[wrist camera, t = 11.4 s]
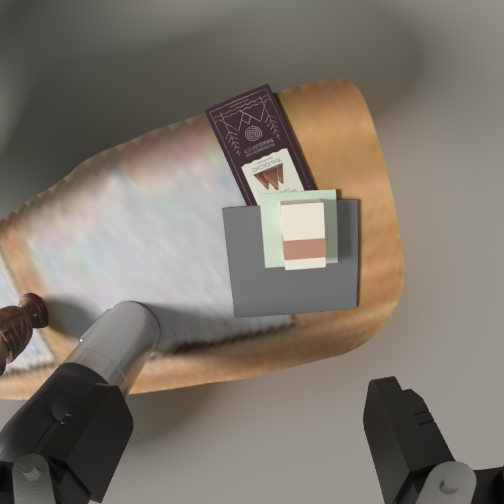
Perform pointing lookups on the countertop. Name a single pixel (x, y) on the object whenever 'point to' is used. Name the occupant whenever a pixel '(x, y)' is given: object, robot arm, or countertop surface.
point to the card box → (303, 234)
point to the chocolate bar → (258, 145)
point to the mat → (272, 258)
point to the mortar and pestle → (19, 327)
